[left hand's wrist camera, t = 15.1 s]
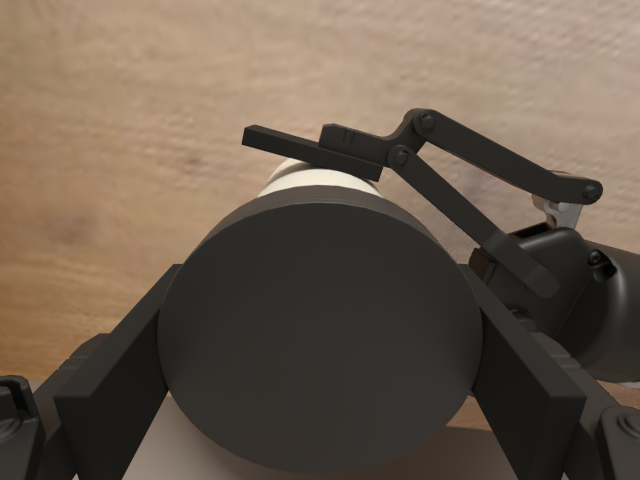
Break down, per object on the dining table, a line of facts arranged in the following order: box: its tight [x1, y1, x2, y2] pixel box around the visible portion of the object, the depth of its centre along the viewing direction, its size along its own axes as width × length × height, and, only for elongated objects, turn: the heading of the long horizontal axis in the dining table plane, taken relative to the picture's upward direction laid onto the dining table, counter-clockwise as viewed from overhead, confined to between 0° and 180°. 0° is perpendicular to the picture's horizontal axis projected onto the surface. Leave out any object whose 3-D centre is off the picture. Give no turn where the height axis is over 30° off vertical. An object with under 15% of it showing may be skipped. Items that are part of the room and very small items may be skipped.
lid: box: [157, 185, 483, 475], centre depth 11 cm, size 9×9×2 cm
